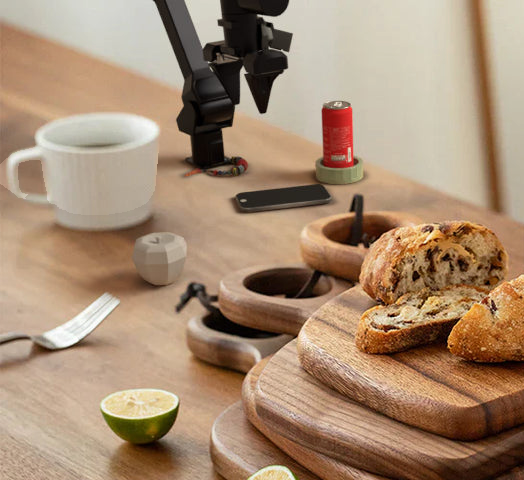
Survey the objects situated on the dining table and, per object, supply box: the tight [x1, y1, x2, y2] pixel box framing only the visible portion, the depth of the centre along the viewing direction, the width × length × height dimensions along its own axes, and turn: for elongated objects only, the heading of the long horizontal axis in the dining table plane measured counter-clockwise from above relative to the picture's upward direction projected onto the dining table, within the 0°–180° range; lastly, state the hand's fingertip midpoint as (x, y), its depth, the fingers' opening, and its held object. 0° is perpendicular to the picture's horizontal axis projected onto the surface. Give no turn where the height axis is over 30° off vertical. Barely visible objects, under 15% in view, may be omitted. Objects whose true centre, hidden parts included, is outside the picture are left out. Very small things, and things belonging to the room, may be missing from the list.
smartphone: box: [235, 183, 333, 213], centre depth 176 cm, size 8×1×15 cm
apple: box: [131, 231, 188, 286], centre depth 148 cm, size 8×8×7 cm
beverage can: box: [321, 100, 354, 168], centre depth 183 cm, size 5×5×12 cm
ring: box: [314, 155, 364, 185], centre depth 186 cm, size 8×8×3 cm
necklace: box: [184, 156, 249, 178], centre depth 190 cm, size 8×11×2 cm
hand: (249, 108), depth 178 cm, fingers open, 9 cm apart
